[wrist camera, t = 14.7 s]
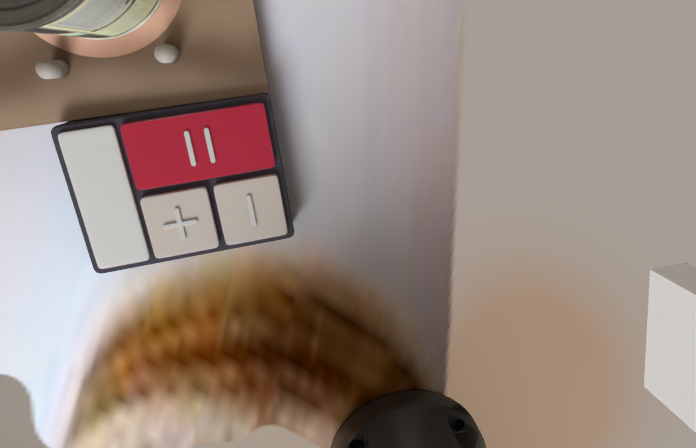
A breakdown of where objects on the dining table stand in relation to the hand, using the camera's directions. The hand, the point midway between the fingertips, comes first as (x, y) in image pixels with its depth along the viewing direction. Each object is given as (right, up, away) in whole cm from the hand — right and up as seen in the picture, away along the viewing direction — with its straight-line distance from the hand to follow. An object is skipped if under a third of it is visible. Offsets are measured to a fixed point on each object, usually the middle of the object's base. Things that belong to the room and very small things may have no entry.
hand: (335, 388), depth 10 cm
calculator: (-12, +7, +31) cm, 34 cm away
